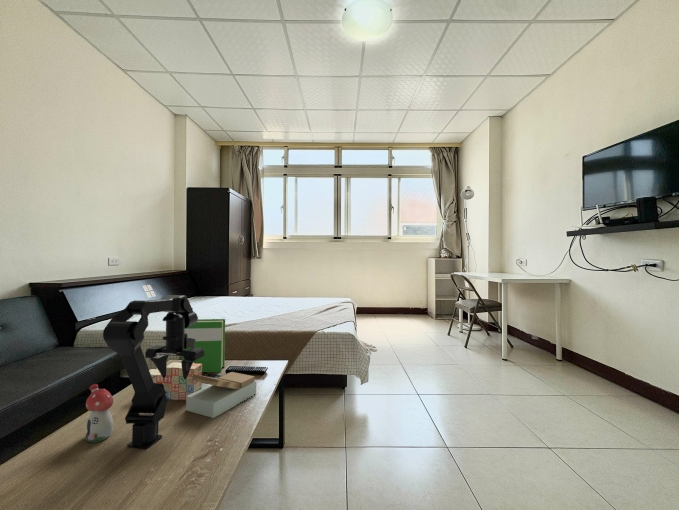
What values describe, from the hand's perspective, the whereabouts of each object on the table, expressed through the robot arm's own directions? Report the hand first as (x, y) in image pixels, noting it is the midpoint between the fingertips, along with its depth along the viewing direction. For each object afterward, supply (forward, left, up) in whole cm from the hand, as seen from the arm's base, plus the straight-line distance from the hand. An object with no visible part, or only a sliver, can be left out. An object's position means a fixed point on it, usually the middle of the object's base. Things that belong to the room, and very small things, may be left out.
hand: (174, 378), depth 109 cm
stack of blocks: (+15, +12, -13) cm, 24 cm away
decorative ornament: (-15, +14, -13) cm, 25 cm away
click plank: (+10, -9, -5) cm, 15 cm away
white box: (+14, -10, -13) cm, 22 cm away
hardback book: (+44, +17, -13) cm, 49 cm away
